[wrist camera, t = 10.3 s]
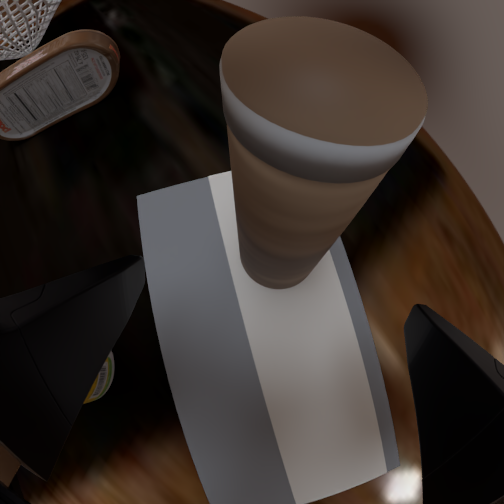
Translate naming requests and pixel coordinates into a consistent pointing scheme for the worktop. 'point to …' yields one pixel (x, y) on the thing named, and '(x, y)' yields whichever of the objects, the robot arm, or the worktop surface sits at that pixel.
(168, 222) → the slate-grey panel
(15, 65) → the tin
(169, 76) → the worktop surface
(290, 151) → the beige tapered cylinder
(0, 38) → the heart
